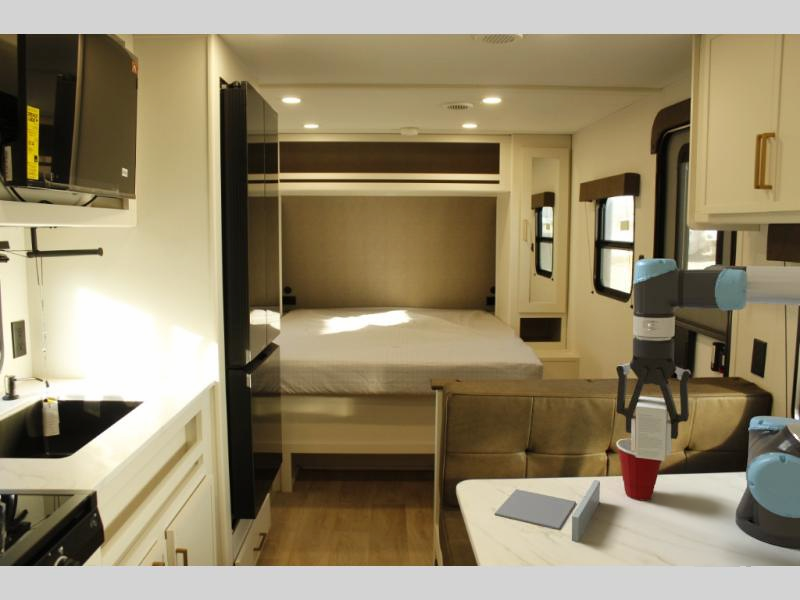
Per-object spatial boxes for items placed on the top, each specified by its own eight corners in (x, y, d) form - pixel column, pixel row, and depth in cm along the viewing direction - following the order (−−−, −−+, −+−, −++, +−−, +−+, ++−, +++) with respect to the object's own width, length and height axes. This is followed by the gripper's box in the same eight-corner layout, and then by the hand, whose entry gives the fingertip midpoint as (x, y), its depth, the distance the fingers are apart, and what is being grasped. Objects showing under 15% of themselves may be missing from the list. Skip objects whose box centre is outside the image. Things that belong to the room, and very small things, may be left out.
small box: (638, 444, 124) (638, 395, 123) (667, 448, 122) (668, 398, 121) (634, 457, 117) (635, 405, 116) (665, 461, 115) (666, 408, 114)
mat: (575, 503, 134) (575, 501, 134) (558, 529, 122) (558, 527, 122) (516, 490, 141) (516, 489, 141) (494, 514, 129) (494, 513, 129)
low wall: (599, 502, 135) (599, 480, 134) (577, 541, 118) (578, 517, 117) (594, 500, 135) (594, 479, 135) (571, 540, 118) (572, 516, 118)
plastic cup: (670, 507, 132) (672, 455, 130) (618, 503, 134) (620, 452, 132) (659, 487, 142) (660, 438, 141) (611, 484, 144) (612, 436, 143)
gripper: (600, 337, 118) (598, 449, 121) (705, 343, 109) (702, 465, 111) (607, 331, 125) (606, 438, 127) (708, 337, 115) (704, 452, 118)
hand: (651, 450), depth 119 cm, fingers closed on small box, 6 cm apart
